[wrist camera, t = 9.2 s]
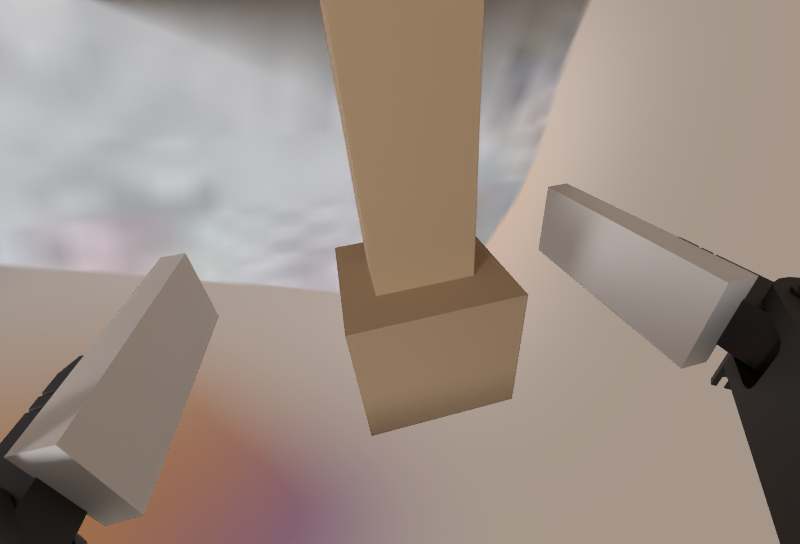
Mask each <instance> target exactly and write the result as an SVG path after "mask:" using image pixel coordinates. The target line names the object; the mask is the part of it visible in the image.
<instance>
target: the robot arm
mask: <svg viewBox="0 0 800 544" xmlns="http://www.w3.org/2000/svg"><path fill="white" fill-rule="evenodd" d="M539 250H540V251H541V252H542V253H543V254H545V255H546V256H547V257H548V258H549V259H550V260H552V261H553V262H554V263H555V264H557V265H558V266H559V267H560V268H561V269H562V270H564V271H565V272H566V273H567V274H569V275H570V276H571V277H572V278H573V279H574V280H576V281H577V282H578V283H579V284H581V285H582V286H583V287H584V288H585V289H587V290H588V291H589V292H590V293H591V294H592V295H594V296H595V297H596V298H597V299H598V300H600V301H601V302H602V303H603V304H604V305H606V306H607V307H608V308H609V309H610V310H612V311H613V312H614V313H615V314H616V315H618V316H619V317H620V318H621V319H622V320H624V321H625V322H626V323H627V324H628V325H630V326H631V327H632V328H633V329H634V330H636V331H637V332H638V333H639V334H640V335H642V336H643V337H644V338H645V339H646V340H648V341H649V342H650V343H651V344H652V345H654V346H655V347H656V348H657V349H658V350H660V351H661V352H662V353H663V354H664V355H666V356H667V357H668V358H669V359H670V360H672V361H673V362H674V363H675V364H676V365H677V366H679V367H680V368H681V369H682V368H685V367H689V366H692V365H696V364H700V363H703V362H706V361H707V360H708V358H709V356H710V355H711V353H712V352H713V350H714V348H715V346H716V345H719V346H720V347H721V348H723V349H724V350H726V351H727V352H728V353H727V355H726V357H725V358H724V360H723V361H722V363H721V364H720V366H719V367H718V369H717V371H716V372H715V374H714V375H713V377H712V378H711V385H715V386H716V385H717V384H718V383H719V381H720V380H721V378H722V377H727V378H728V382H727V383H726V385H725V386H724V388H726V389H730V390H732V393H733V396H734V400H735V403H736V406H737V409H738V412H739V416H740V419H741V422H742V425H743V428H744V431H745V434H746V438H747V441H748V444H749V447H750V450H751V453H752V456H753V460H754V463H755V466H756V469H757V472H758V475H759V479H760V482H761V485H762V488H763V491H764V494H765V497H766V500H767V504H768V507H769V510H770V513H771V516H772V519H773V522H774V525H775V529H776V532H777V535H778V538H779V541H780V544H800V278H795V277H787V278H780V279H778V280H776V281H775V282H773V281H770V280H768V279H766V278H764V277H762V276H760V275H758V274H756V273H754V272H752V271H749V270H747V269H745V268H743V267H741V266H739V265H737V264H735V263H733V262H731V261H729V260H726V259H724V258H722V257H720V256H718V255H714V254H713V253H712V252H710V251H708V250H706V249H703V248H699V246H697V245H695V244H693V243H691V242H689V241H687V240H685V239H682V238H679V237H676V236H674V235H672V234H670V233H668V232H666V231H664V230H662V229H660V228H658V227H656V226H654V225H652V224H649V223H647V222H645V221H643V220H641V219H639V218H637V217H635V216H633V215H631V214H629V213H627V212H624V211H622V210H620V209H618V208H616V207H614V206H612V205H610V204H608V203H606V202H603V201H602V200H599V199H597V198H595V197H593V196H591V195H589V194H587V193H585V192H583V191H581V190H579V189H577V188H574V187H572V186H570V185H568V184H562V185H557V186H551V187H548V193H547V200H546V206H545V212H544V219H543V226H542V232H541V238H540V245H539ZM218 317H219V316H218V314H217V312H216V310H215V308H214V306H213V304H212V302H211V301H210V299H209V297H208V295H207V293H206V291H205V289H204V287H203V285H202V284H201V282H200V280H199V278H198V276H197V274H196V272H195V270H194V269H193V267H192V265H191V263H190V261H189V259H188V257H187V255H186V254H185V253H184V254H179V255H173V256H168V257H162V258H160V259H159V261H158V262H157V263H156V264H155V266H154V267H153V268H152V270H151V271H150V272H149V273H148V275H147V276H146V277H145V278H144V280H143V281H142V282H141V284H140V285H139V286H138V287H137V289H136V290H135V291H134V292H133V294H132V295H131V296H130V298H129V299H128V300H127V301H126V303H125V304H124V305H123V306H122V308H121V309H120V310H119V311H118V313H117V314H116V315H115V317H114V318H113V319H112V320H111V322H110V323H109V324H108V326H107V327H106V328H105V329H104V331H103V332H102V333H101V334H100V336H99V337H98V338H97V339H96V341H95V342H94V343H93V345H92V346H91V347H90V348H89V350H88V351H87V352H86V354H85V355H83V356H79V357H78V358H77V359H76V360H74V361H73V362H72V363H71V364H69V365H68V366H67V367H66V368H64V369H63V370H62V371H61V372H60V373H58V374H57V376H56V377H55V378H54V379H53V380H52V381H51V383H50V384H49V385H48V386H47V388H46V389H45V390H44V391H43V392H42V394H43V395H42V396H40V397H38V399H37V400H36V401H35V402H34V403H33V405H32V406H31V407H30V408H29V413H25V414H24V415H23V417H22V418H21V419H20V420H19V422H18V423H17V424H16V425H15V426H14V428H13V429H12V430H11V431H10V432H9V434H8V435H7V436H6V437H5V438H4V440H3V441H2V442H1V443H0V544H87V541H86V540H85V539H84V538H82V536H80V535H79V534H77V532H78V530H79V528H80V526H81V524H82V522H83V520H84V518H85V516H86V514H87V515H89V516H90V517H92V518H93V519H95V520H96V521H98V522H99V523H101V524H102V525H104V526H106V525H110V524H113V523H117V522H121V521H125V520H129V519H132V518H136V517H139V516H143V515H144V513H145V511H146V508H147V505H148V503H149V500H150V497H151V495H152V492H153V489H154V487H155V484H156V481H157V479H158V476H159V474H160V471H161V468H162V465H163V463H164V460H165V458H166V455H167V452H168V450H169V447H170V444H171V442H172V439H173V436H174V434H175V431H176V428H177V426H178V423H179V420H180V418H181V415H182V412H183V410H184V407H185V404H186V402H187V399H188V397H189V394H190V391H191V389H192V386H193V383H194V381H195V378H196V375H197V373H198V370H199V367H200V364H201V362H202V359H203V356H204V354H205V351H206V349H207V346H208V343H209V341H210V338H211V336H212V333H213V330H214V328H215V325H216V322H217V319H218Z"/></svg>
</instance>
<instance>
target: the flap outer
mask: <svg viewBox="0 0 800 544" xmlns="http://www.w3.org/2000/svg"><path fill="white" fill-rule="evenodd" d="M319 1H320V6H321V12H322V17H323V23H324V28H325V34H326V39H327V45H328V50H329V56H330V61H331V67H332V72H333V78H334V83H335V89H336V94H337V100H338V105H339V111H340V116H341V122H342V127H343V133H344V138H345V144H346V149H347V155H348V160H349V166H350V171H351V177H352V182H353V188H354V194H355V199H356V205H357V210H358V216H359V221H360V227H361V232H362V238H363V243H358V244H353V245H348V246H342V247H337V248H335V251H336V260H337V268H338V277H339V285H340V294H341V303H342V310H343V320H344V328H345V336H346V340H347V344H348V348H349V352H350V355H351V359H352V363H353V367H354V370H355V374H356V378H357V382H358V386H359V389H360V393H361V397H362V401H363V404H364V408H365V412H366V416H367V419H368V423H369V427H370V431H371V435H372V436H373V435H377V434H381V433H384V432H388V431H392V430H396V429H400V428H403V427H407V426H411V425H415V424H418V423H422V422H426V421H429V420H433V419H437V418H441V417H445V416H448V415H452V414H455V413H460V412H463V411H467V410H471V409H474V408H478V407H482V406H486V405H490V404H493V403H497V402H501V401H504V400H508V399H512V394H513V388H514V381H515V375H516V369H517V362H518V356H519V350H520V343H521V336H522V331H523V324H524V318H525V311H526V305H527V299H528V294H527V293H526V292H525V291H524V290H523V289H522V287H521V286H520V285H519V284H518V283H517V282H516V281H515V280H514V278H513V277H512V276H511V275H510V274H509V273H508V272H507V271H506V270H505V268H504V267H503V266H502V265H501V264H500V263H499V262H498V261H497V260H496V258H495V257H494V256H493V255H492V254H491V253H490V252H489V251H488V249H487V248H486V247H485V246H484V245H483V244H482V243H481V242H480V241H479V239H478V238H477V237H476V236H475V233H476V206H477V180H478V154H479V127H480V101H481V75H482V49H483V22H484V0H319Z"/></svg>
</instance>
